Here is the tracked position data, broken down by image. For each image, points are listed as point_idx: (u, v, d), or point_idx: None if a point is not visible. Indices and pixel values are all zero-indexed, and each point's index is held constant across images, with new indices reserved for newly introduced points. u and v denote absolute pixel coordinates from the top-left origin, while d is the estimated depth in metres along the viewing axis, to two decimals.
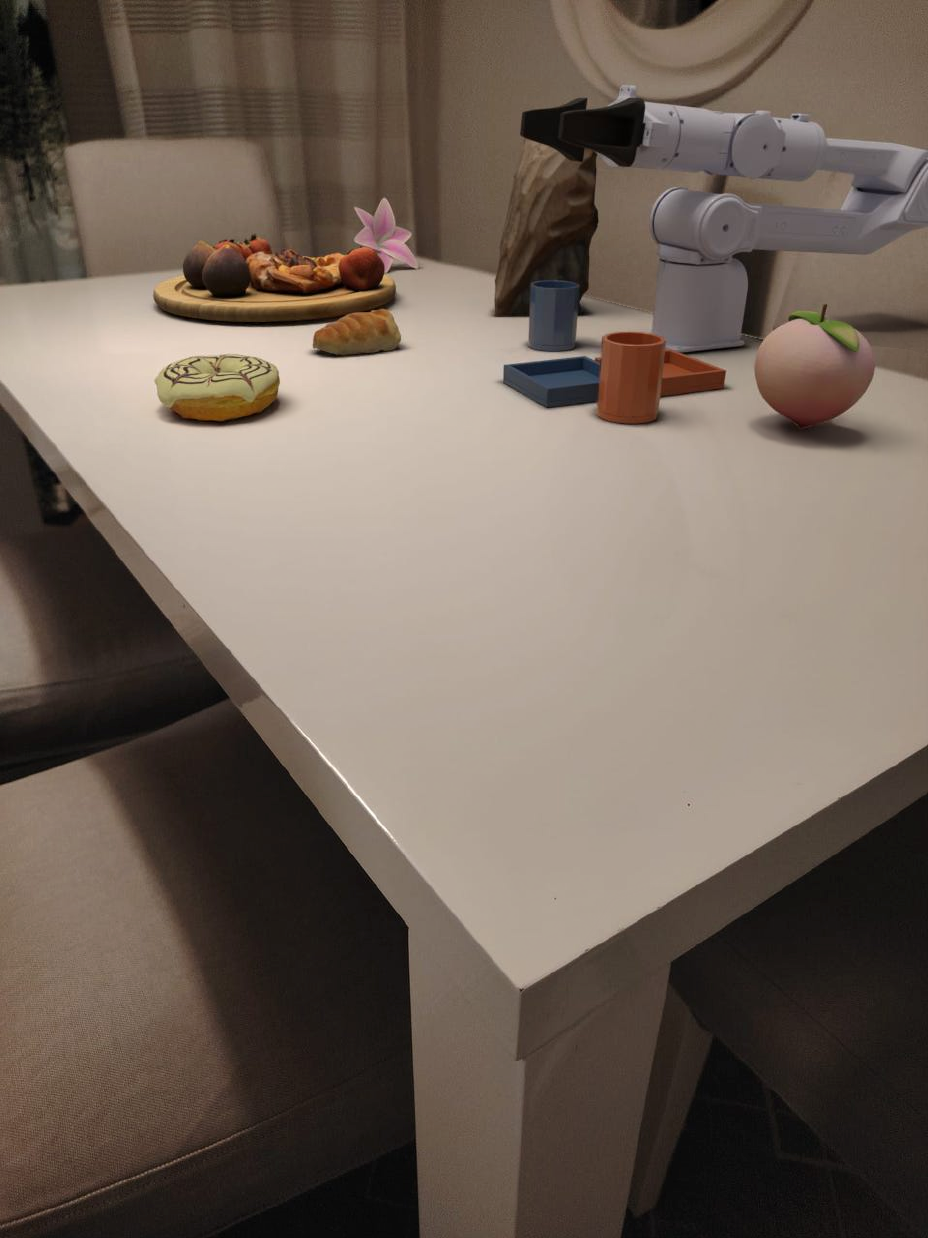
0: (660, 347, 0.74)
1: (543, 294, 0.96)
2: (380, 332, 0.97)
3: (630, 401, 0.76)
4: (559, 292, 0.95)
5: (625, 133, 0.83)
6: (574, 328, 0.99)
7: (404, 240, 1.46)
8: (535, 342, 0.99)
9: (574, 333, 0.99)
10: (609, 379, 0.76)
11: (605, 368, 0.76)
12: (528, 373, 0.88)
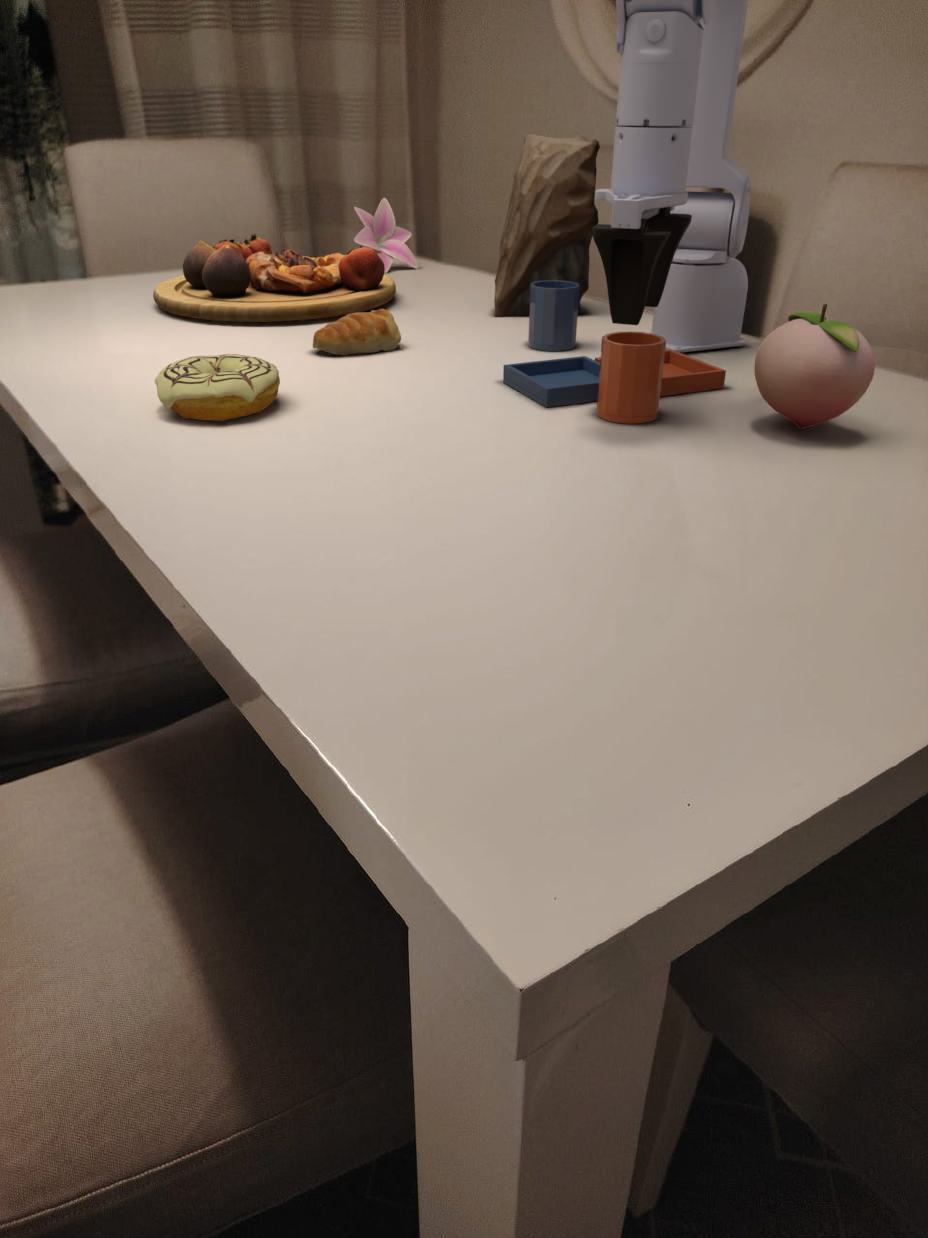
0: (660, 347, 0.74)
1: (543, 294, 0.96)
2: (380, 332, 0.97)
3: (630, 401, 0.76)
4: (559, 292, 0.95)
5: None
6: (574, 328, 0.99)
7: (404, 240, 1.46)
8: (535, 342, 0.99)
9: (574, 333, 0.99)
10: (609, 379, 0.76)
11: (605, 368, 0.76)
12: (528, 373, 0.88)
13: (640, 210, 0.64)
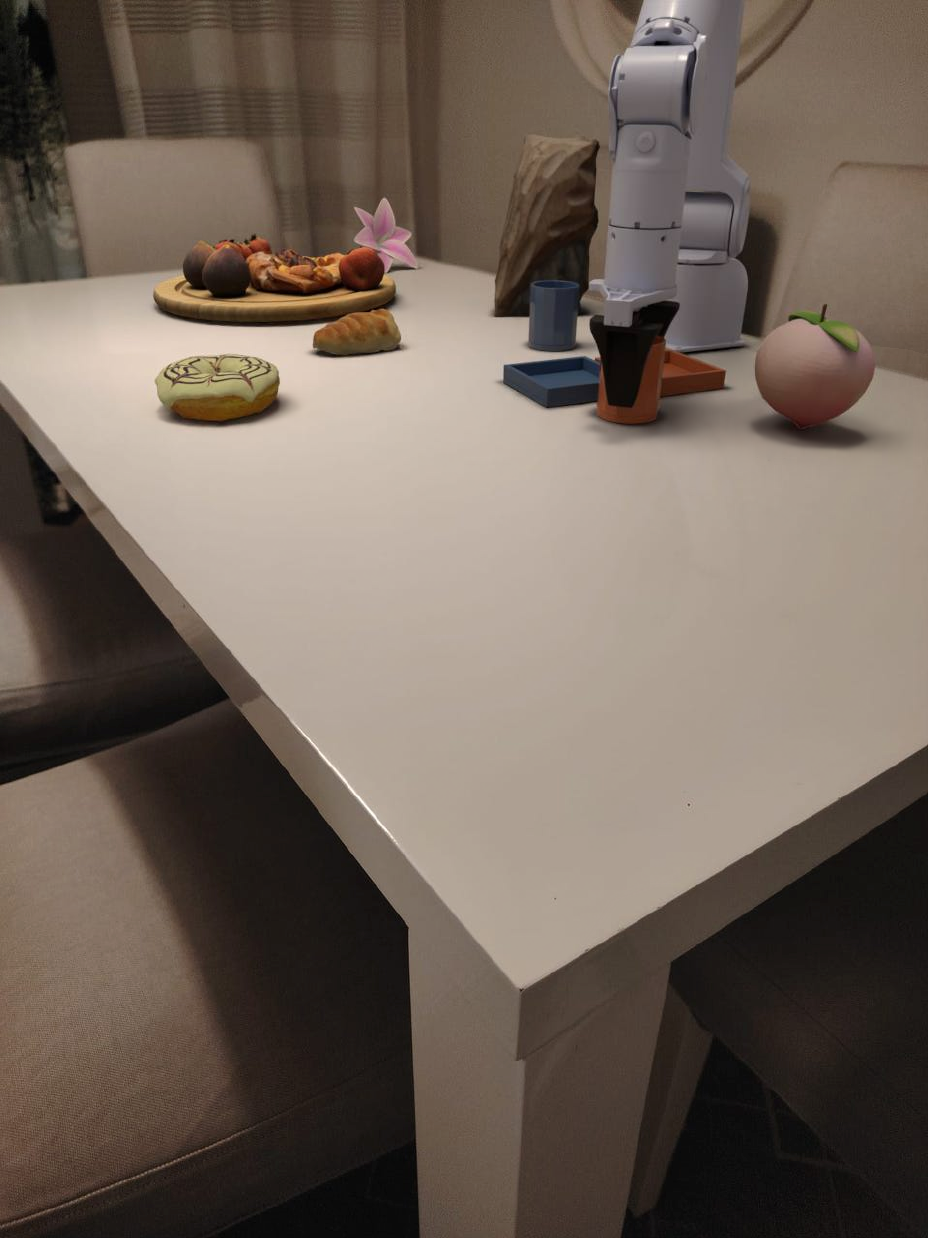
0: (660, 347, 0.74)
1: (543, 294, 0.96)
2: (380, 332, 0.97)
3: None
4: (559, 292, 0.95)
5: None
6: (574, 328, 0.99)
7: (404, 240, 1.46)
8: (535, 342, 0.99)
9: (574, 333, 0.99)
10: None
11: None
12: (528, 373, 0.88)
13: (631, 310, 0.68)
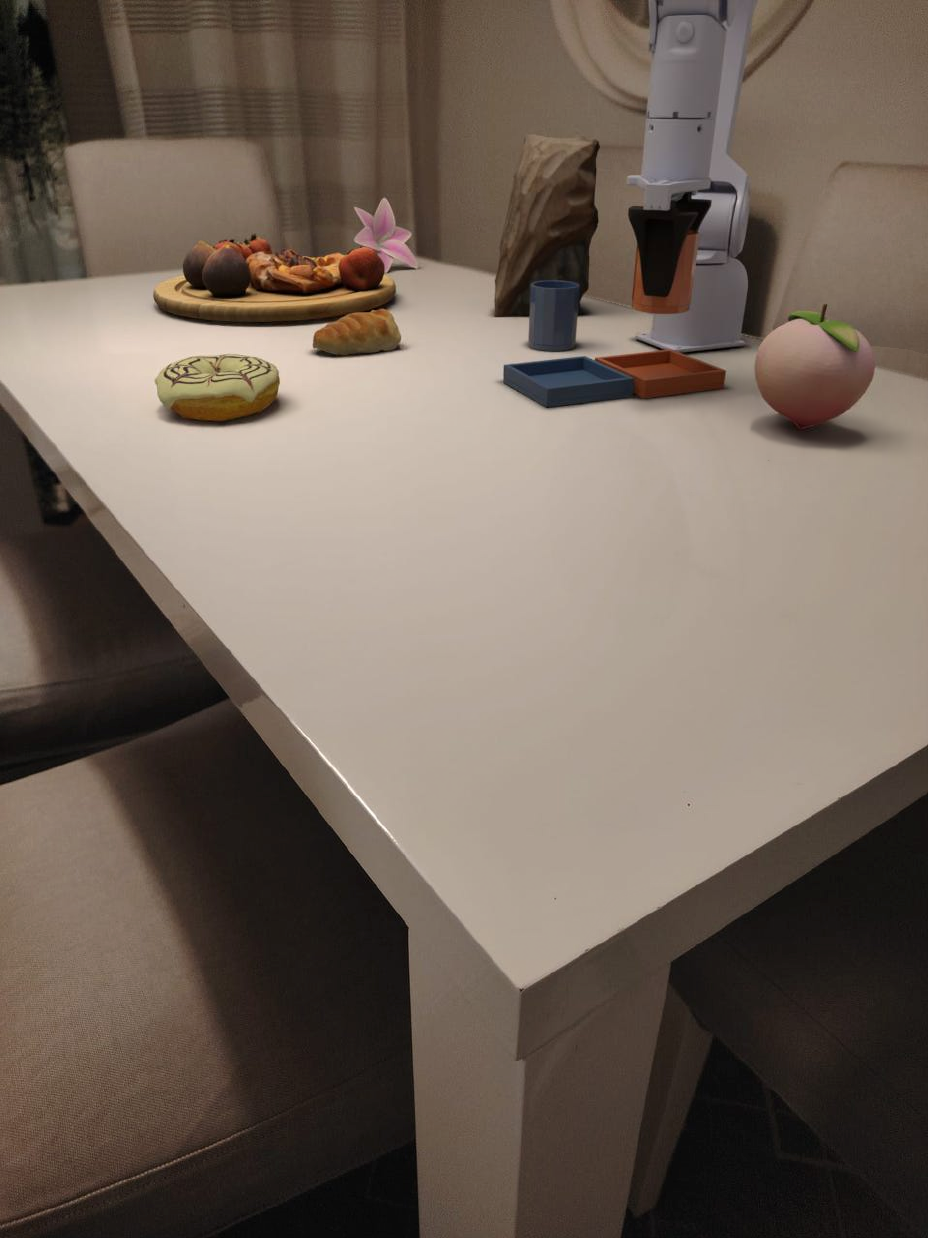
0: (694, 238, 0.78)
1: (543, 294, 0.96)
2: (380, 332, 0.97)
3: None
4: (559, 292, 0.95)
5: None
6: (574, 328, 0.99)
7: (404, 240, 1.46)
8: (535, 342, 0.99)
9: (574, 333, 0.99)
10: None
11: None
12: (528, 373, 0.88)
13: (670, 193, 0.72)
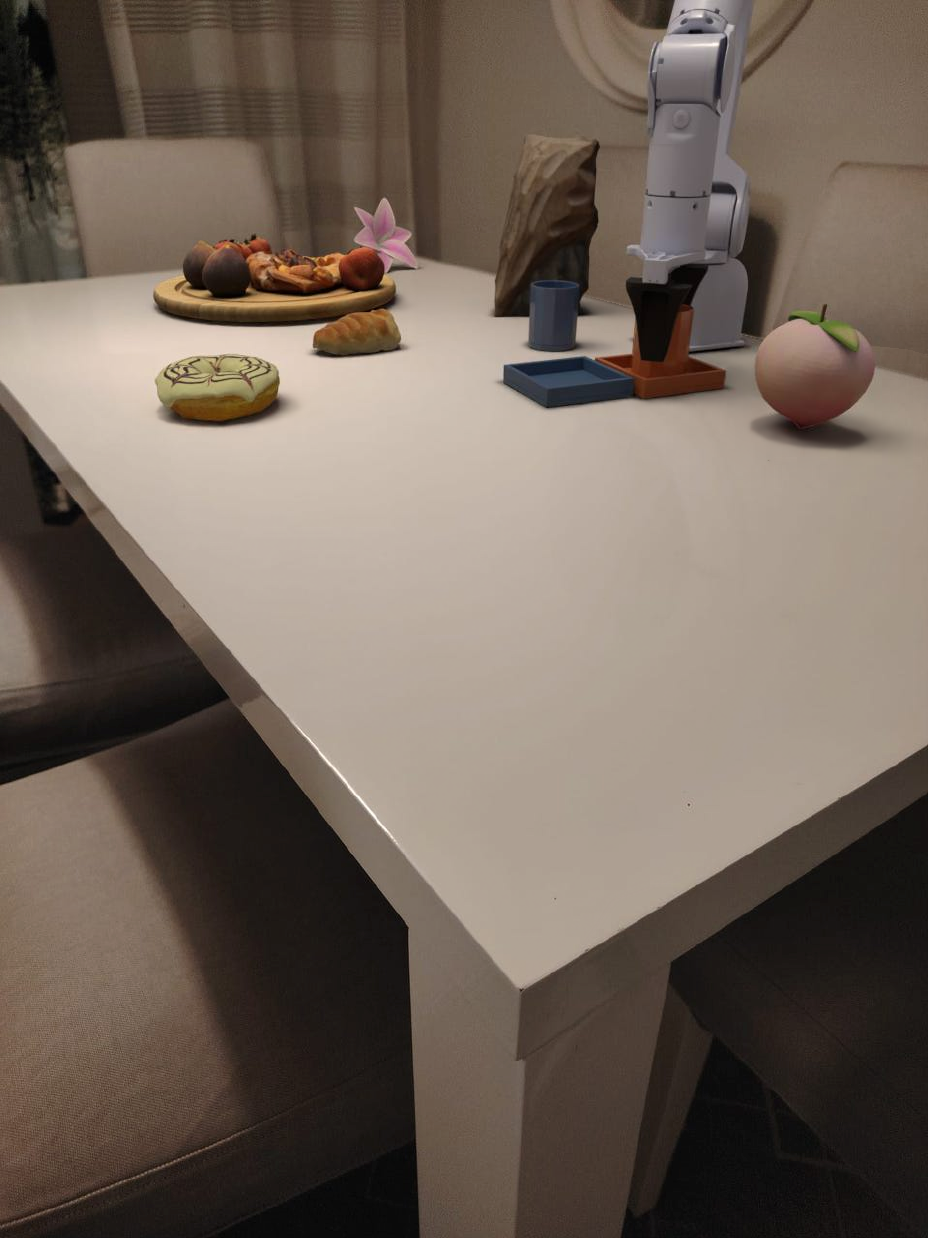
0: (689, 314, 0.83)
1: (543, 294, 0.96)
2: (380, 332, 0.97)
3: (662, 363, 0.85)
4: (559, 292, 0.95)
5: None
6: (574, 328, 0.99)
7: (404, 240, 1.46)
8: (535, 342, 0.99)
9: (574, 333, 0.99)
10: None
11: None
12: (528, 373, 0.88)
13: (667, 268, 0.76)
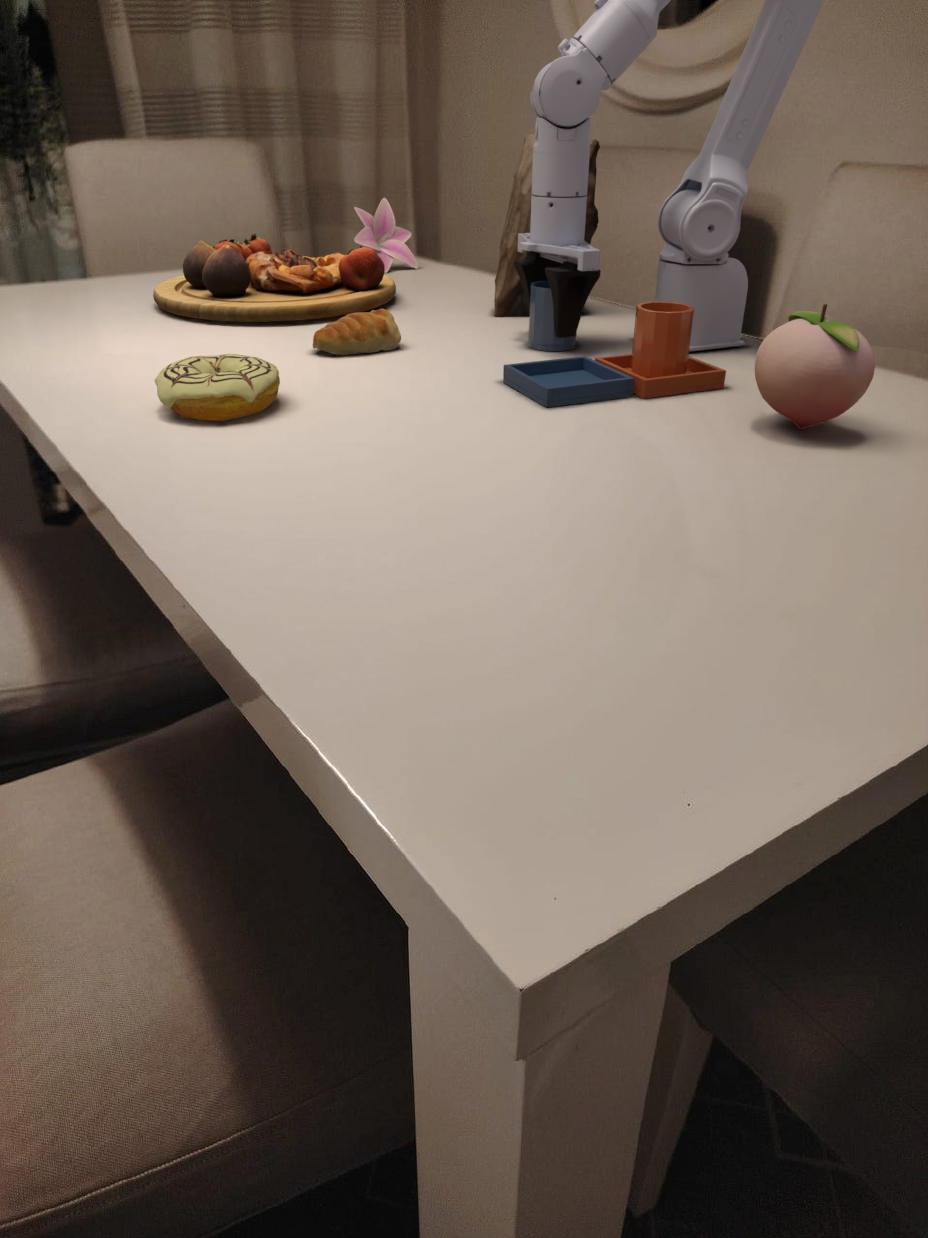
0: (689, 314, 0.83)
1: (543, 294, 0.96)
2: (380, 332, 0.97)
3: (662, 363, 0.85)
4: None
5: None
6: None
7: (404, 240, 1.46)
8: (535, 342, 0.99)
9: None
10: (642, 343, 0.85)
11: (639, 333, 0.85)
12: (528, 373, 0.88)
13: None
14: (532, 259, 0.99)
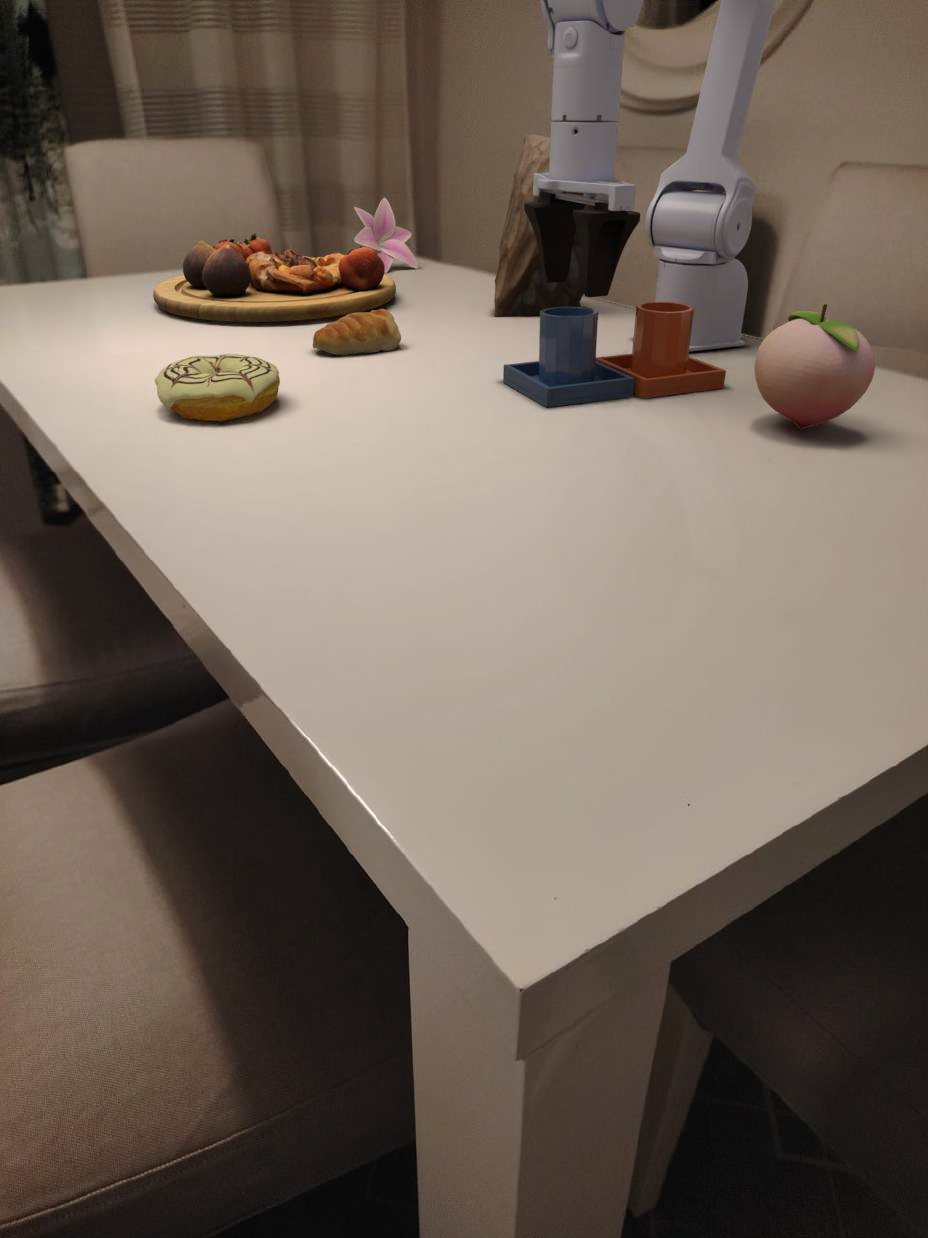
0: (689, 314, 0.83)
1: (555, 323, 0.81)
2: (380, 332, 0.97)
3: (662, 363, 0.85)
4: (574, 321, 0.80)
5: None
6: (593, 362, 0.83)
7: (404, 240, 1.46)
8: (547, 380, 0.83)
9: (593, 368, 0.83)
10: (642, 343, 0.85)
11: (639, 333, 0.85)
12: (528, 373, 0.88)
13: None
14: (546, 201, 0.83)
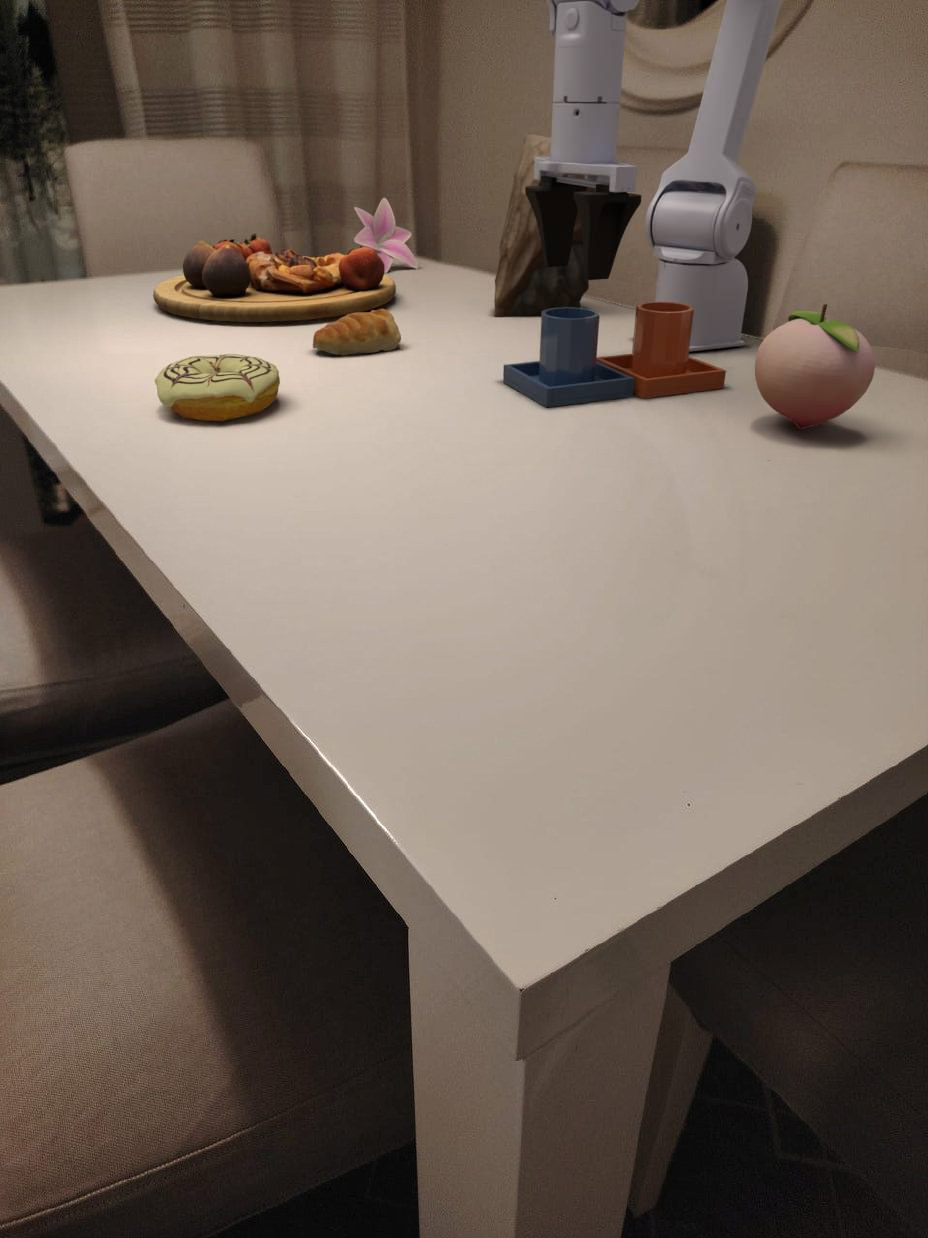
0: (689, 314, 0.83)
1: (557, 325, 0.80)
2: (380, 332, 0.97)
3: (662, 363, 0.85)
4: (576, 323, 0.80)
5: None
6: (593, 364, 0.83)
7: (404, 240, 1.46)
8: (547, 381, 0.83)
9: (593, 370, 0.83)
10: (642, 343, 0.85)
11: (639, 333, 0.85)
12: (528, 373, 0.88)
13: None
14: (547, 185, 0.83)
